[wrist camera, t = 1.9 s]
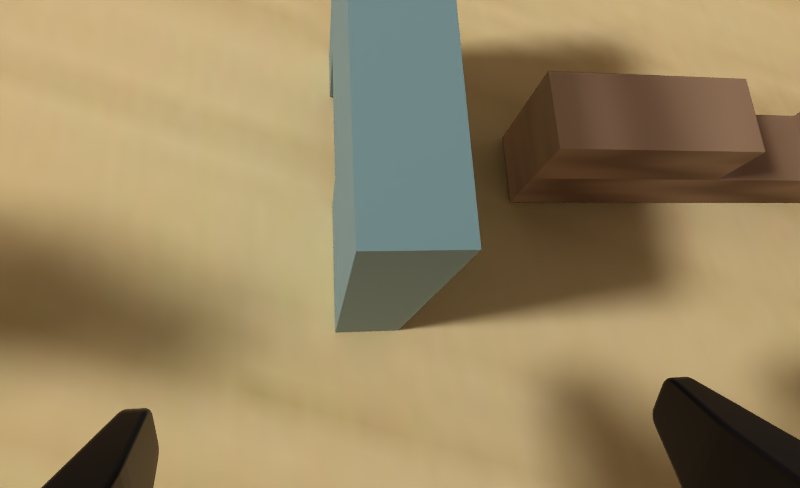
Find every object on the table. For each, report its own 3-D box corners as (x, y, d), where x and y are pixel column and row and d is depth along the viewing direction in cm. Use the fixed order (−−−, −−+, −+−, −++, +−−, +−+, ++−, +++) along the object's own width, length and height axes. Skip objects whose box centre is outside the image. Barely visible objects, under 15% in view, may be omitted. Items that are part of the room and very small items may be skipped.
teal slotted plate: (398, 330, 21) (481, 249, 11) (335, 332, 21) (356, 251, 10) (383, 58, 24) (435, -206, 14) (329, 56, 24) (340, -218, 14)
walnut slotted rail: (890, 145, 27) (1011, 89, 22) (909, 202, 26) (1040, 156, 22) (502, 137, 24) (548, 70, 19) (510, 202, 23) (560, 148, 18)
